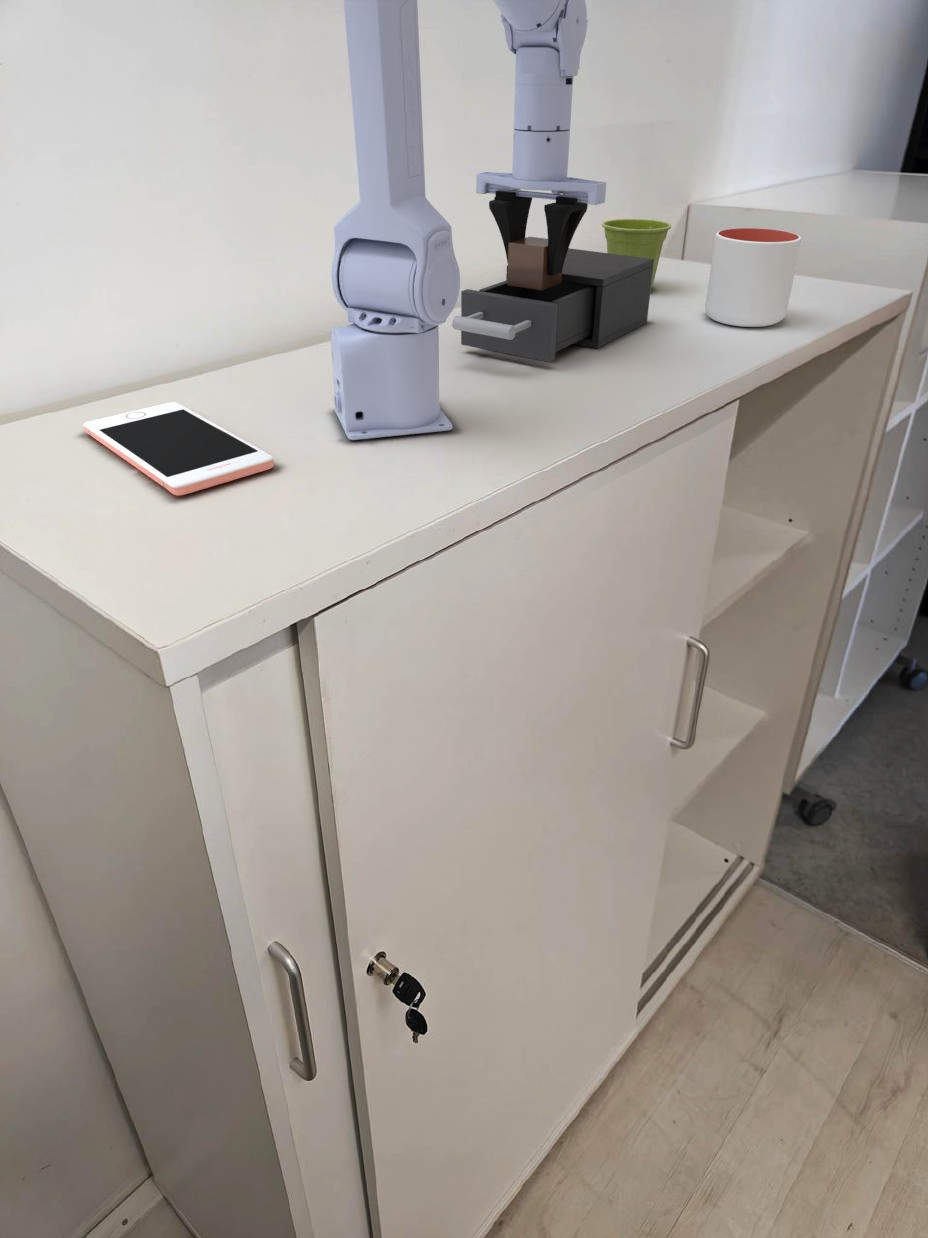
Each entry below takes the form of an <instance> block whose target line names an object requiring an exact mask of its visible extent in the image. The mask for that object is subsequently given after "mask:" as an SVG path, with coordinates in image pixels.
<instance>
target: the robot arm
mask: <svg viewBox="0 0 928 1238" xmlns="http://www.w3.org/2000/svg"><path fill="white" fill-rule="evenodd" d="M492 1H493V3H494V4H495V6H496V7H497V9H498V10H499V11H500V19H501V23H502V25H503V27H504V33H505V34H504V35H505V40H506V41H505V42H506V45H507V48H508V51H509V52H512V53H513V55H515V71H514V103H513V135H512V136H513V138H512V170H511V171H512V172H494V171H493V172H492V171H484V172H479V173H476V175H475V176H476V177H475V180H476V181H475V183H476V185H475V192H476V194H480V195H485V194H490V195H491V194H492V195H494V198H493V199H491V200H489V201H488V207H489V208H488V209H489V210H490V212H491V214H492V217H493V219H494V220H495V222H496V225H497V227H498V230H499V233H500V236H501V240H502V243H503V248H504V251H505V256H506V262H507V263H508V249H509V242H513V241H516V240H520V239H523V238H526V232H527V226H528V220H529V214H530V209H531V205H532V202H533V198H534V199H543V200H553V201H555V202H551V203H547V204H544V206H543V211H544V216H545V221H546V230H547V239H548V254H547V269H548V275H552V276H554V275H557V274H559V273H562V269H563V265H564V261H565V258H566V254H567V251H568V248H570V245H571V242H572V240H573V238H574V235H575V233H576V231H577V228H578V227H579V225H580V223H581V221H582V219H583V217H584V216H585V214H586V213H587V211H588V206H589V205H592V206H598V205H601V204H605V203H606V195H607V194H606V192H607V181H597V180H591V179H584V178H578V177H571V176H568V173H569V172H568V171H569V155H570V153H569V152H570V136H571V121H572V103H573V90H574V89H573V88H574V87H573V86H574V77H577V76H578V74H579V70H580V64H581V53H582V49H583V46H584V43H585V40H586V37H587V30H588V15H587V14H588V13H587V3H586V0H492ZM343 7H344V20H345V32H346V33H345V34H346V43H347V45H346V46H347V57H348V70H349V84H350V92H351V94H350V95H351V96H350V97H351V106H352V107H351V109H352V119H353V130H354V131H353V132H354V143H355V157H356V167H357V168H356V169H357V181H358V193H359V200H358V202H356V204H354V206H353V207H351V208H350V209H349V210H348V211H347V212H346V213H345V214H344V215H343V216H342V217H341V218H340V219H339V220H338V221H337V222H336V224H335V225H334V226H333V234H334V254H333V259H332V263H331V268H330V269H331V270H330V275H331V276H330V277H331V278H330V279H331V280H330V281H331V286H332V290H333V294H334V298H335V299H336V301H337V303H338V304H339V305H340V307H341V308H342V309H344V310H346V311H347V321H348V323H351V324H348V325H344V326H343V325H342V326H336V327H332V328H331V332H330V334H331V335H330V337H331V338H330V346H331V347H330V349H331V361H332V376H333V389H334V390H333V391H334V394H333V400H334V401H333V403H334V412H335V415H336V416H337V418H338V420H339V423H340V425H341V426H342V429H343V432H344V433H345V435H346V438H347V439H348V440H350V441H357V440H365V439H366V440H368V439H376V438H377V439H378V438H386V437H397V436H407V435H408V436H409V435H415V434H416V435H417V434H427V433H436V432H446V431H447V432H448V431H451V430H453V423H452V422H451V421H450V419H449V418H448V416H447V414H445V413H444V411H443V410H442V408H440V345H439V344H440V343H439V341H440V340H439V339H440V338H439V331H440V330H439V326H440V325H442V324H444V323H446V322H447V319H448V318H449V316H450V315H451V313H453V310H454V309H455V307H456V304H457V302H458V298H459V296H460V295H459V294H460V289H461V273H460V267H459V264H458V261H457V258H456V255H455V251H454V250H455V249H454V244H453V228H452V226H451V224H450V223H449V222H448V221H447V219H446V218H445V217H444V216H443V215H442V214H441V213H440V212H439V211H438V209H436V208H435V206H434V205H432V203H431V202H430V201H429V200H428V199H427V197H426V179H425V177H426V176H425V175H426V174H425V154H424V130H423V128H424V127H423V105H422V86H421V85H422V84H421V83H422V82H421V80H422V78H421V59H420V58H421V57H420V34H419V31H420V30H419V13H418V12H419V10H418V0H343ZM543 191H548V192H543ZM549 191H551V192H549Z"/></svg>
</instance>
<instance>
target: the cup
mask: <svg viewBox="0 0 928 1238" xmlns="http://www.w3.org/2000/svg"><path fill="white" fill-rule="evenodd" d="M801 241H802V237H801V236H800V235H799V234H797V233H793V232H791V231H786V230H779V229H772V228H759V227H758V228H757V227H737V228H736V227H735V228H726V229H720V230H718V231H717V232H716V233H715V236H714V244H713V251H712V257H711V263H710V265H711V266H710V271H709V277H708V284H707V291H706V296H705V297H706V299H705V306H704V308H705V309H704V310H705V312H706V314H707V316H708V317H709V318H710V319H712V320H713V321H715V322H717V323H720V324H724V325H728V326H734V327H743V328H763V327H770V326H773V325H777V324H778V323H779V322H781V321H782V320H783V319H784V318H785V317H786V315H787V313H788V308H789V303H790V298H791V292H792V287H793V283H794V278H795V273H796V268H797V263H798V258H799V252H800V248H801Z"/></svg>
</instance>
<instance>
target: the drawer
mask: <svg viewBox="0 0 928 1238" xmlns="http://www.w3.org/2000/svg"><path fill="white" fill-rule="evenodd" d="M507 283H508V280H503V281H500V282H498V283H494V284H492V285H489V286H485V287H483V288H480V289H479V290H476V289H469V288H467V289H464V290H461V291H460V295H461V298H460V302H461V303H460V306H461V307H460V309H461V310H460V312H461V315H455V316H454V317H453V318H452V329H454V330H456V331H460V345H462V346H466V347H471V348H477V349H482V350H485V351H491V352H497V353H502V354H508V355H511V356H518V357H522V358H527V359H533V360H537V361H543V362H548V363H550V362H552V361H554V360H556V353H557V352H559V351H562V350H563V349H565V348H568V347H569V346H571V345H574V344H573V343H575V342H577V341H580V340H582V339H584V338H586V337H588V336H590V335H592V334H593V327H594V315H595V302H596V290H597V286H594V285H587V284H581V283H574V282H567V281H562V283H560V284H558V285H555V286H552V287H550V288H547V289H544V290H542V291H541V290H535V289H529V288H522V287H516V286H509V285H507Z"/></svg>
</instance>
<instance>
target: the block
mask: <svg viewBox="0 0 928 1238" xmlns="http://www.w3.org/2000/svg"><path fill="white" fill-rule="evenodd" d="M547 254H548V238H544V237H535V236H527V237H526V236H525V238H523V239H520V240H516V241H513V242H509V249H508V262H507V266H508V283H507V285H509V286H516V287H522V288H529V289H535V290H541V291H542V290H544V289H547V288H550V287H552V286H555V285H558V284H560V283H562V273H559V274H557V275H554V276H552V275H548V269H547Z"/></svg>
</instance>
